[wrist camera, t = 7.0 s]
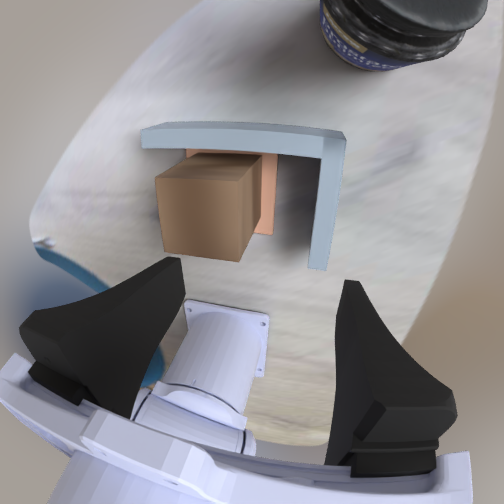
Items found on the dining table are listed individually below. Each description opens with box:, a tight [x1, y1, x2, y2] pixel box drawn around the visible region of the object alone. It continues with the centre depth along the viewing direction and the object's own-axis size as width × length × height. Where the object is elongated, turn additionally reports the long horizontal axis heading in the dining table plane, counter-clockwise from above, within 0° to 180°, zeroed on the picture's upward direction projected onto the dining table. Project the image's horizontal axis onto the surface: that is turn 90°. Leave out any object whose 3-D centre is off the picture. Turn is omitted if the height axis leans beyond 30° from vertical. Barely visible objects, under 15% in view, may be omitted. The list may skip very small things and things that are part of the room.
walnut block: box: [155, 152, 262, 262], centre depth 18 cm, size 4×4×6 cm
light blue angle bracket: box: [141, 122, 346, 271], centre depth 19 cm, size 8×12×4 cm
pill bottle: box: [320, 0, 488, 71], centre depth 8 cm, size 6×6×11 cm
